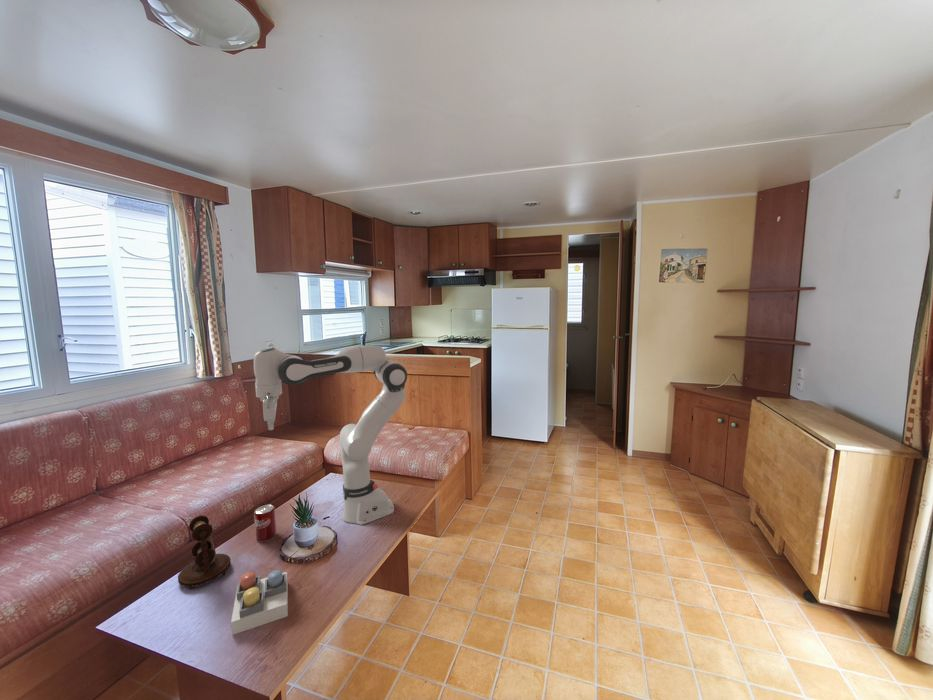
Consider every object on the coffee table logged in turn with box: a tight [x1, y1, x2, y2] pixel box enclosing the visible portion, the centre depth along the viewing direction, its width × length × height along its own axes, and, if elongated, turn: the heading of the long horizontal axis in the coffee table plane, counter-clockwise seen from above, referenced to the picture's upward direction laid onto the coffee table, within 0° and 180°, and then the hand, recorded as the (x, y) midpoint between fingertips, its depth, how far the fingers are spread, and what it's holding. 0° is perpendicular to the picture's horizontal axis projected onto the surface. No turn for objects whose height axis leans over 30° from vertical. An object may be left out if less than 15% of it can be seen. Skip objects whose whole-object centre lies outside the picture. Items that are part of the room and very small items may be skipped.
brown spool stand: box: [177, 515, 232, 590], centre depth 126 cm, size 15×15×20 cm
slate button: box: [267, 569, 283, 588], centre depth 114 cm, size 4×4×3 cm
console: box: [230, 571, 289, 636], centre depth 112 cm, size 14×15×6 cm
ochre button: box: [243, 587, 260, 607], centre depth 107 cm, size 4×4×3 cm
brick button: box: [239, 571, 257, 590], centre depth 114 cm, size 4×4×3 cm
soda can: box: [253, 504, 278, 543], centre depth 147 cm, size 7×7×12 cm
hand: (271, 425), depth 142 cm, fingers open, 8 cm apart
